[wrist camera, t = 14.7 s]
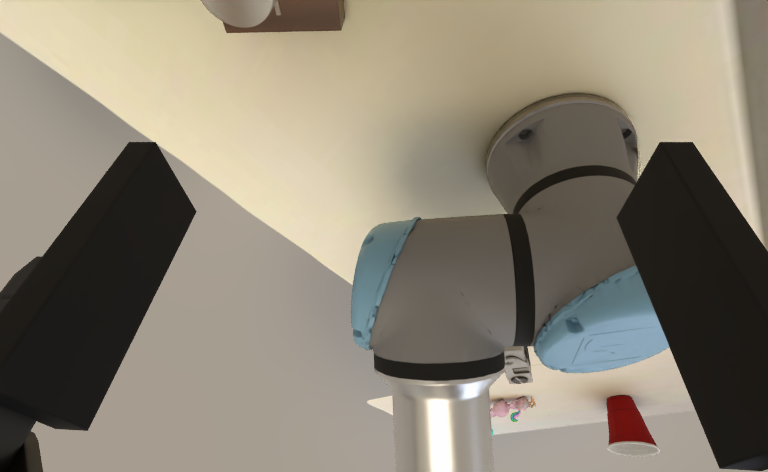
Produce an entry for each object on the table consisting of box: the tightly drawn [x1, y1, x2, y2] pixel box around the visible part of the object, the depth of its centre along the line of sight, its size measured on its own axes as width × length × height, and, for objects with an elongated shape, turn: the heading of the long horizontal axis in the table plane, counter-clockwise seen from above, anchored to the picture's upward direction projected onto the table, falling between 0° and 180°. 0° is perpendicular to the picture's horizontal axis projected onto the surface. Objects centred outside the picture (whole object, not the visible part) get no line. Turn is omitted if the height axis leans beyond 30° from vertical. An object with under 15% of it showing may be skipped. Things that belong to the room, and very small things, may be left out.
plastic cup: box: [607, 396, 660, 456], centre depth 98 cm, size 11×11×12 cm
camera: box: [504, 346, 533, 384], centre depth 71 cm, size 14×8×10 cm, turn 22°
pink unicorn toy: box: [490, 396, 535, 422], centre depth 105 cm, size 6×6×15 cm
